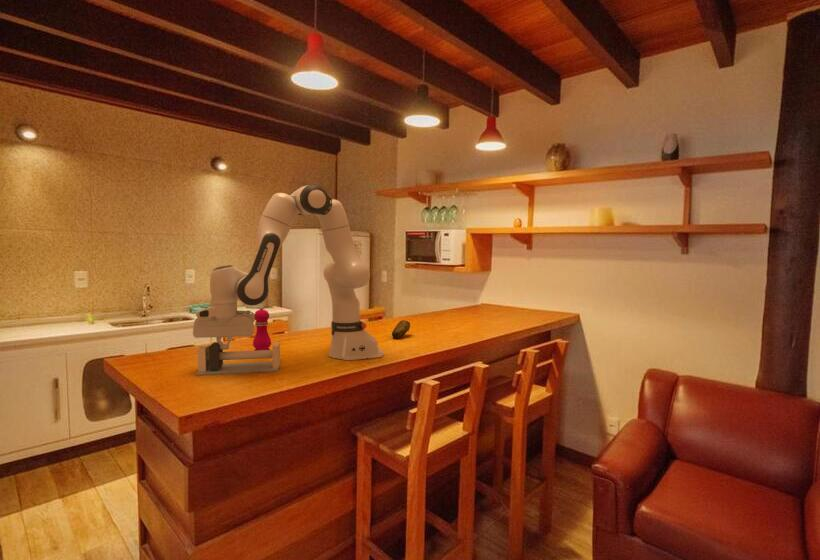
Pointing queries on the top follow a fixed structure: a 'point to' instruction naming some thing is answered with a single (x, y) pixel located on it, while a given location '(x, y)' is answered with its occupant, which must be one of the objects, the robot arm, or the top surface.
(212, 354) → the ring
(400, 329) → the potato
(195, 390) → the top surface
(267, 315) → the pepper mill
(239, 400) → the top surface
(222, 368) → the pipe rig
